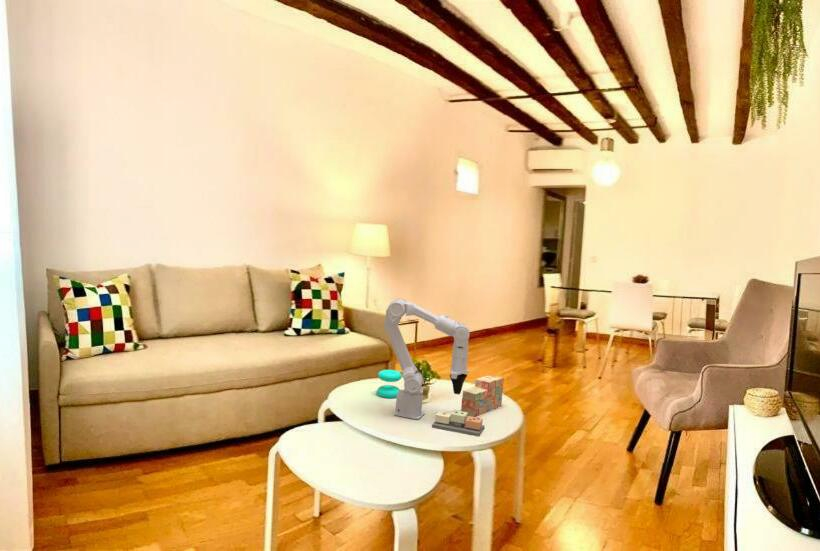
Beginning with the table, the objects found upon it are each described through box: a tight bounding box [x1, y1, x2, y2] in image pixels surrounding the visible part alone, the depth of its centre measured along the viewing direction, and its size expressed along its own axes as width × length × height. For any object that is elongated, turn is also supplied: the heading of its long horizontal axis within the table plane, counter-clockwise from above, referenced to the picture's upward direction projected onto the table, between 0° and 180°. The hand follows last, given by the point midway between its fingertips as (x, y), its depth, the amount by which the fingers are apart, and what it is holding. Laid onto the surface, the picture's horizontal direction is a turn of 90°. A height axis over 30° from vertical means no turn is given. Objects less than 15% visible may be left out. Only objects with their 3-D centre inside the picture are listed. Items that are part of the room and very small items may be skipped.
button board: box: [431, 421, 485, 437], centre depth 182 cm, size 17×9×3 cm, turn 70°
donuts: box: [376, 369, 403, 399], centre depth 215 cm, size 10×10×10 cm
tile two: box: [450, 409, 469, 423], centre depth 181 cm, size 5×5×3 cm
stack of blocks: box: [460, 374, 504, 417], centre depth 204 cm, size 21×6×12 cm, turn 141°
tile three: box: [465, 416, 483, 430], centre depth 180 cm, size 5×5×3 cm
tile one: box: [434, 410, 452, 424], centre depth 183 cm, size 5×5×3 cm
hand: (457, 393), depth 189 cm, fingers closed
